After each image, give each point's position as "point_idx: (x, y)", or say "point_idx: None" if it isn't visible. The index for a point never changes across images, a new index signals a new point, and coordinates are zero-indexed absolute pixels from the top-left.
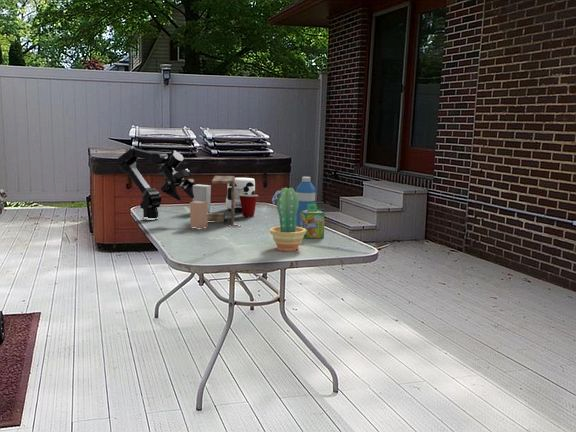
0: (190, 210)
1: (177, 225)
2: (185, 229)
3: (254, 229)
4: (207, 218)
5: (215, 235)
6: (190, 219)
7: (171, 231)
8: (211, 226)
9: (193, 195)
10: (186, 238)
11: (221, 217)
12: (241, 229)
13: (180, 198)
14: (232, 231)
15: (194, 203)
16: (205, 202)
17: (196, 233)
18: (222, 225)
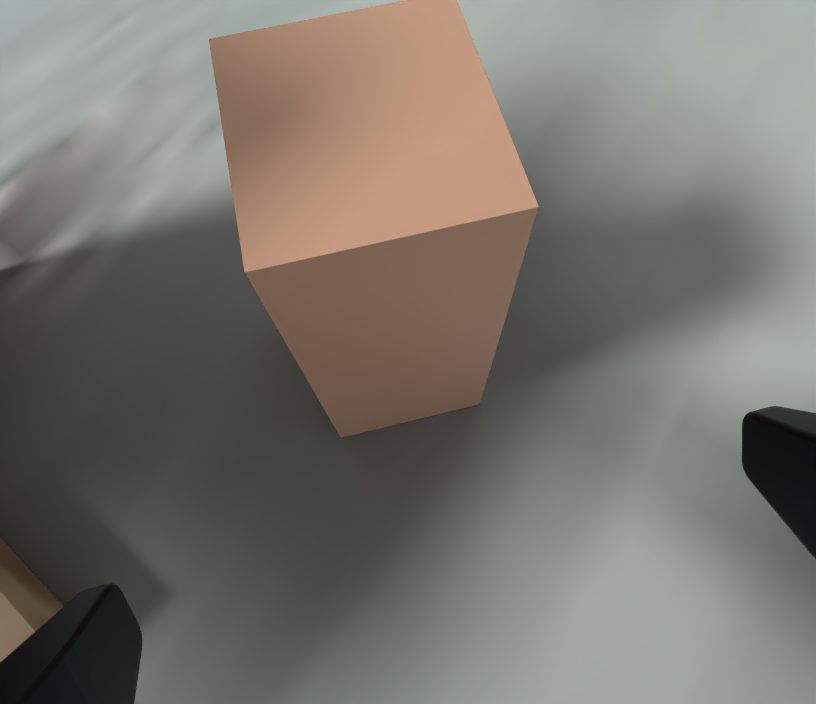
0: (508, 297)
1: (541, 662)
2: (578, 355)
3: (50, 23)
4: (23, 605)
5: (477, 7)
6: (490, 362)
7: (774, 348)
8: (230, 333)
9: (36, 635)
10: (753, 32)
11: None
12: (128, 72)
13: (778, 414)
14: None
15: (492, 111)
16: (271, 30)
17: (577, 137)
18: (96, 312)
